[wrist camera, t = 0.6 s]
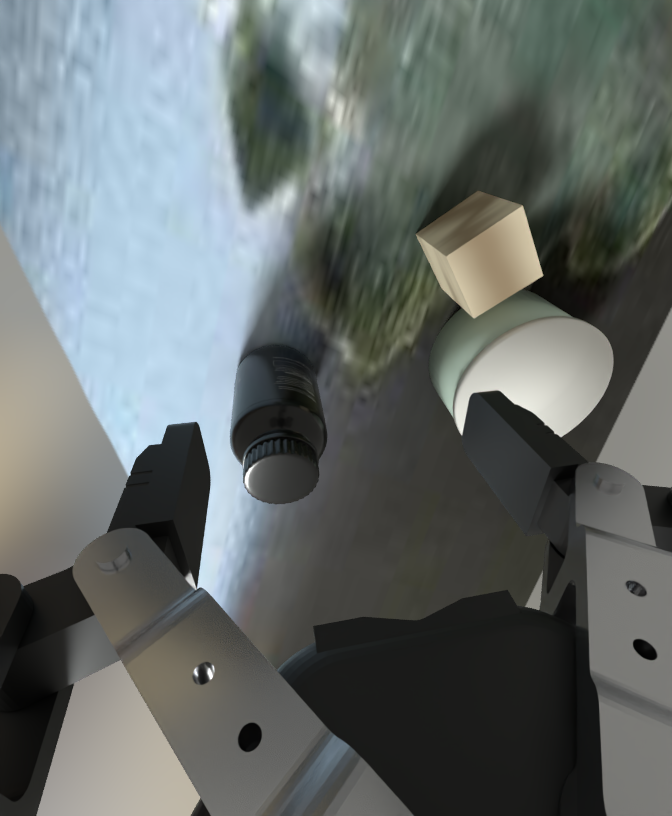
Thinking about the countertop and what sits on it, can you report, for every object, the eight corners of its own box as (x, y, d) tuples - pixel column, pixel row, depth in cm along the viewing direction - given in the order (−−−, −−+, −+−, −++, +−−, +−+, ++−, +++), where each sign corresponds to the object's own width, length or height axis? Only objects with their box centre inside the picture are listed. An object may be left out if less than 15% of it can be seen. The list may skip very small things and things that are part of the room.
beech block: (477, 190, 28) (522, 205, 23) (499, 251, 30) (543, 275, 26) (415, 233, 29) (446, 256, 24) (441, 288, 32) (473, 318, 27)
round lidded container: (538, 255, 31) (599, 284, 26) (570, 363, 38) (623, 405, 33) (403, 341, 34) (431, 384, 28) (455, 427, 41) (486, 476, 35)
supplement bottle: (218, 368, 33) (200, 472, 23) (287, 327, 31) (298, 418, 22) (266, 421, 37) (267, 528, 27) (329, 386, 35) (354, 485, 26)
